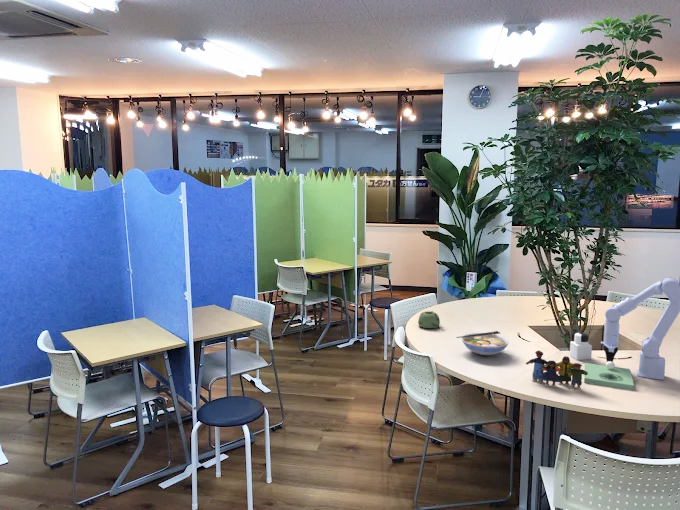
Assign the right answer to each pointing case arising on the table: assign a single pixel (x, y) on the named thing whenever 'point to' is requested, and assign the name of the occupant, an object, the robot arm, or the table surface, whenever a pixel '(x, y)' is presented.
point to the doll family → (552, 367)
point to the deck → (608, 376)
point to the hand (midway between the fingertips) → (609, 362)
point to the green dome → (428, 320)
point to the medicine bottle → (580, 347)
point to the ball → (610, 365)
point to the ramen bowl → (485, 342)
